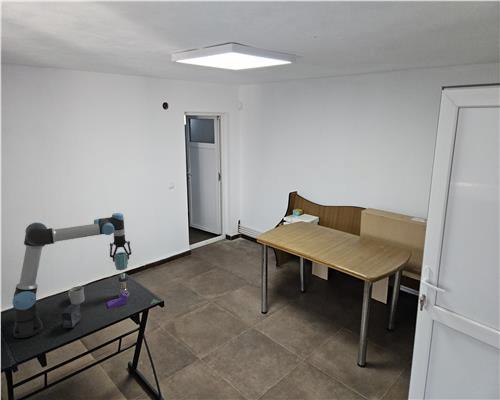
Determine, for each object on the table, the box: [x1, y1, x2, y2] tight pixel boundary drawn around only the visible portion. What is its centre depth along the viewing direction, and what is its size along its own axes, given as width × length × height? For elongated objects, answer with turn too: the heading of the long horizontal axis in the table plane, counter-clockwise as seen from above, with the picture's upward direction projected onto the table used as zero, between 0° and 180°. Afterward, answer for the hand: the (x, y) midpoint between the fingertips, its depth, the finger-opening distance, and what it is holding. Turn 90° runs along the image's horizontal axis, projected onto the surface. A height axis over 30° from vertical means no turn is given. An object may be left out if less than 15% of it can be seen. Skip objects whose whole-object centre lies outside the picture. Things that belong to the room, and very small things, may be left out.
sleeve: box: [115, 251, 128, 271], centre depth 246 cm, size 7×7×11 cm
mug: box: [67, 285, 86, 305], centre depth 242 cm, size 11×10×10 cm
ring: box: [118, 275, 128, 283], centre depth 249 cm, size 6×6×2 cm
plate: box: [118, 291, 131, 298], centre depth 251 cm, size 8×8×1 cm
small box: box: [61, 303, 82, 329], centre depth 214 cm, size 11×6×10 cm, turn 178°
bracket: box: [106, 292, 127, 309], centre depth 239 cm, size 12×7×7 cm, turn 122°
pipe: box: [119, 272, 128, 295], centre depth 249 cm, size 5×5×16 cm
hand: (121, 264), depth 247 cm, fingers closed on sleeve, 7 cm apart
